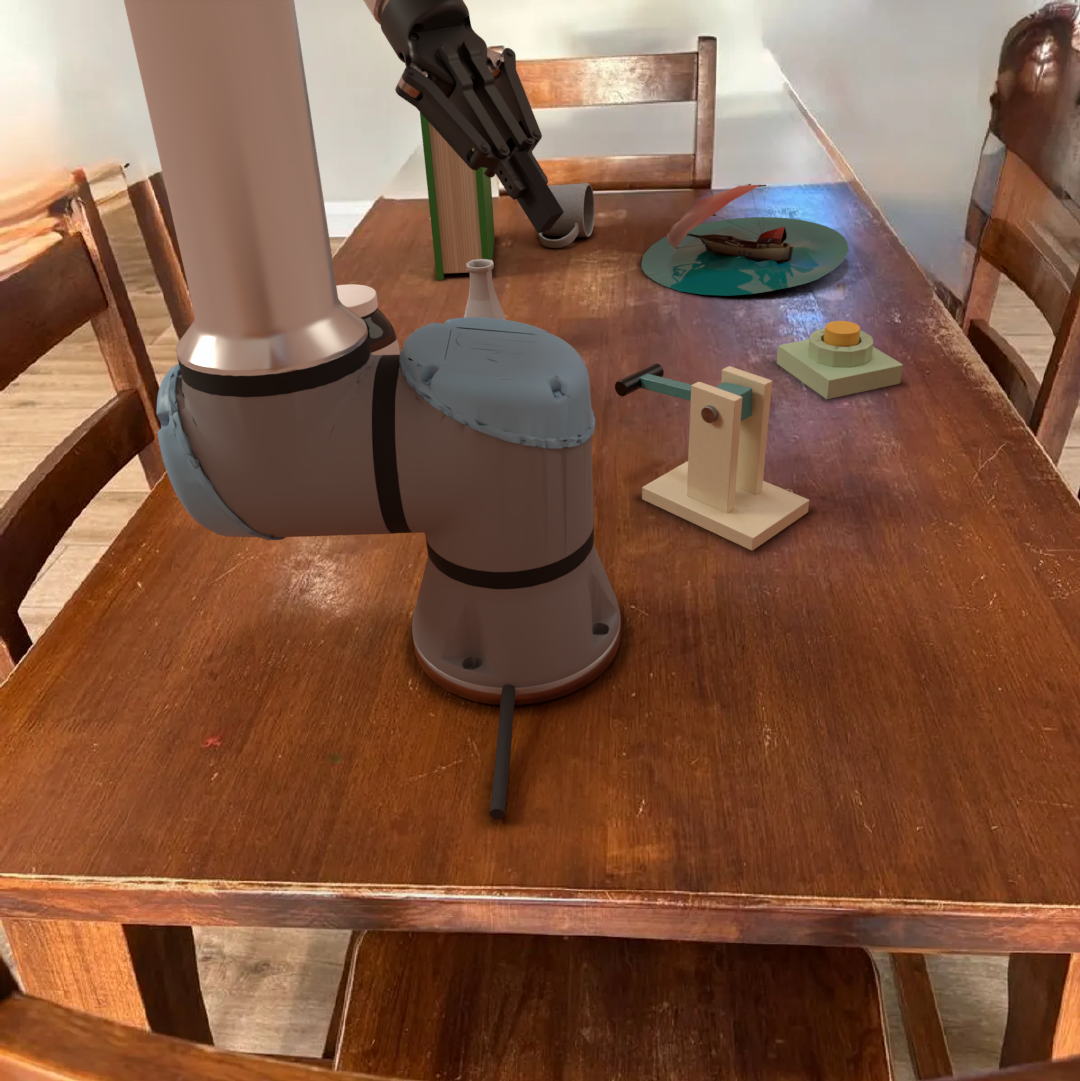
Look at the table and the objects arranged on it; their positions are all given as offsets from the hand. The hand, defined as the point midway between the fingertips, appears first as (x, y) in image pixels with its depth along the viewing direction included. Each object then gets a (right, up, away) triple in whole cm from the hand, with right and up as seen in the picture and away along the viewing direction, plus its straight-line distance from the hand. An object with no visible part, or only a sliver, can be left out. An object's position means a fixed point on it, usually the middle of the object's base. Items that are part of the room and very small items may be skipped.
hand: (550, 222), depth 90 cm
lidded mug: (-23, -14, +20) cm, 33 cm away
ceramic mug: (+3, +17, +64) cm, 66 cm away
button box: (+31, -10, +20) cm, 39 cm away
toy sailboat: (+27, +10, +51) cm, 58 cm away
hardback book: (-12, +13, +58) cm, 60 cm away
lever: (+12, -17, -3) cm, 20 cm away
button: (+31, -7, +18) cm, 37 cm away
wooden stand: (+15, -25, -1) cm, 29 cm away
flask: (-7, -5, +31) cm, 32 cm away
